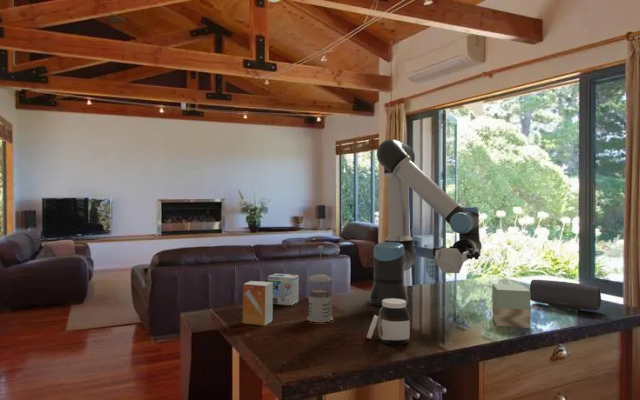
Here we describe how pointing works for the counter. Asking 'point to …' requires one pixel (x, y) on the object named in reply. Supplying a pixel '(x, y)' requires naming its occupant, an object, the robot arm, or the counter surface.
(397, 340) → the spread jar
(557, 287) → the bluetooth speaker
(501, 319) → the tower base
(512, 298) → the tower top
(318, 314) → the french press
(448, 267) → the die
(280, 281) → the light bulb box
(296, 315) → the counter surface
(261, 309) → the small box
